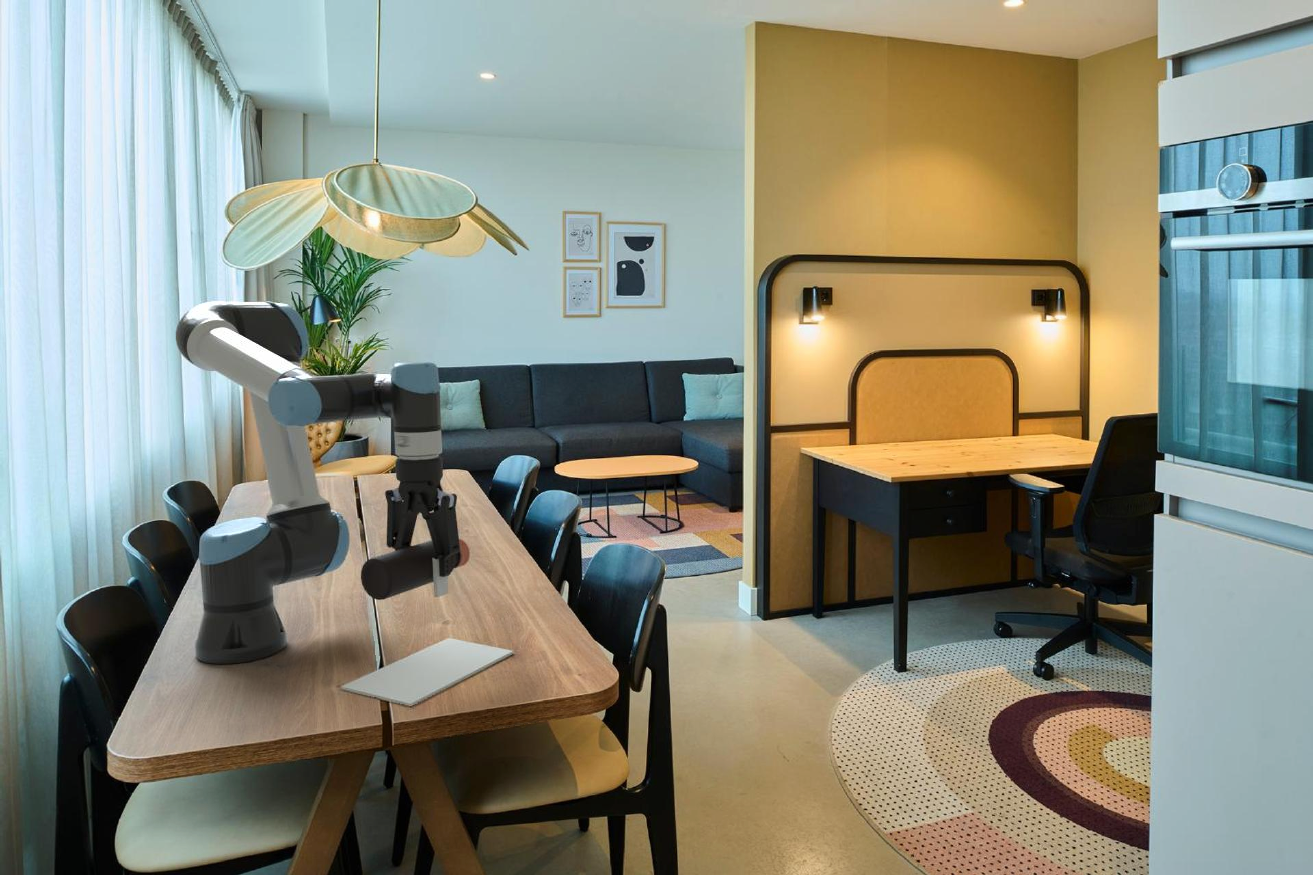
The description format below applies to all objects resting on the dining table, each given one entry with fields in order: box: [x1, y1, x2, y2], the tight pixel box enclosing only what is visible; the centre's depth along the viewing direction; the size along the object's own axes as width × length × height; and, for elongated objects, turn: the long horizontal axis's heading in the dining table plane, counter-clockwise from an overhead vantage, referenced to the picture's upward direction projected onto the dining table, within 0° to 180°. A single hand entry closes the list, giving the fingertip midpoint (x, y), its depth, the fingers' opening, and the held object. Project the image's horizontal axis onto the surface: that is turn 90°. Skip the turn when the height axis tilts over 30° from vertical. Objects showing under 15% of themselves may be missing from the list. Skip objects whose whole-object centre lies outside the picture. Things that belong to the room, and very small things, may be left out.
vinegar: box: [360, 538, 471, 601], centre depth 154 cm, size 7×7×20 cm
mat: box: [340, 637, 514, 707], centre depth 158 cm, size 15×26×1 cm, turn 152°
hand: (424, 591), depth 155 cm, fingers closed on vinegar, 6 cm apart
